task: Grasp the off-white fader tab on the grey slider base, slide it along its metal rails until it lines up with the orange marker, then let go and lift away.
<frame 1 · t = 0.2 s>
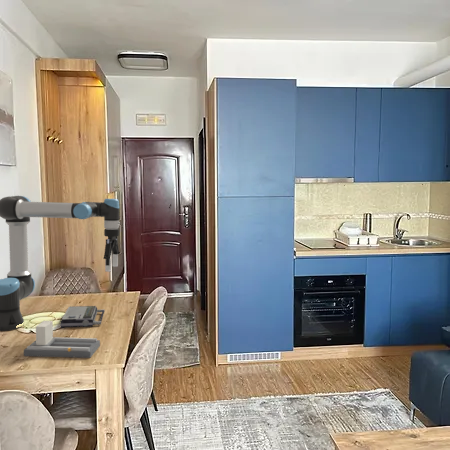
hand: (111, 269, 237), 28 cm above the table, fingers open, 13 cm apart
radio: (83, 321, 240), on the table
fader tab: (44, 333, 196), point 7 cm above the table, slide at -8.0 cm
grey slider base: (63, 350, 197), on the table
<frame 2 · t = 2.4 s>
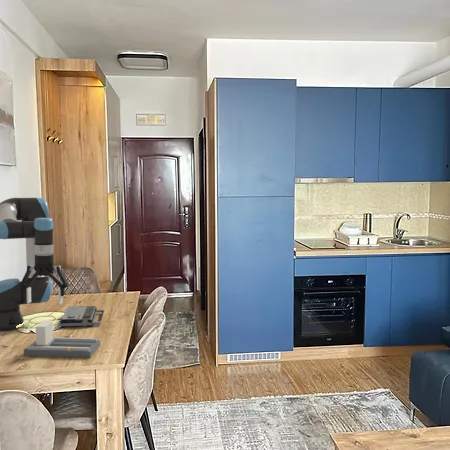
hand: (44, 303, 195), 21 cm above the table, fingers open, 13 cm apart
nothing on the table moved.
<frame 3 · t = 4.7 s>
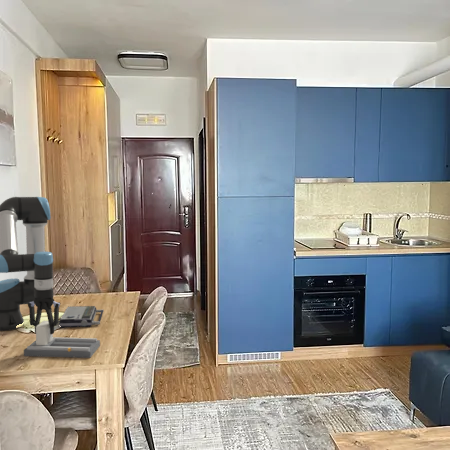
hand: (44, 340, 196), 4 cm above the table, fingers closed on fader tab, 4 cm apart
fader tab: (44, 333, 196), point 7 cm above the table, slide at -8.0 cm, touching gripper
everything else where it was.
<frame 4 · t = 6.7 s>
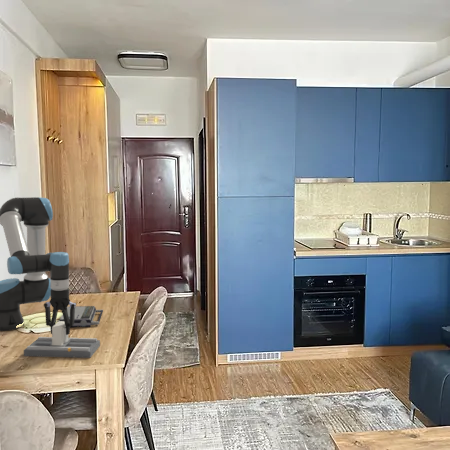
hand: (60, 341, 196), 4 cm above the table, fingers closed on fader tab, 4 cm apart
fader tab: (60, 334, 196), point 7 cm above the table, slide at -1.1 cm, touching gripper
everything else where it was.
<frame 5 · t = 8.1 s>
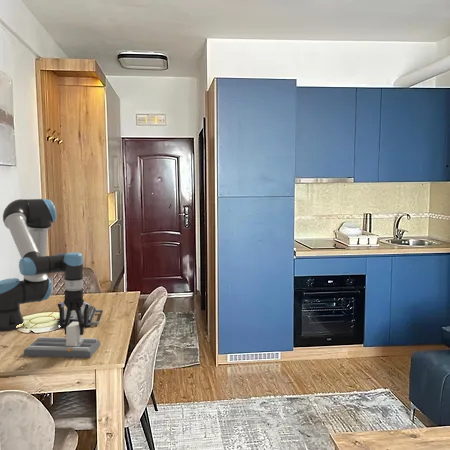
hand: (74, 341, 196), 4 cm above the table, fingers closed on fader tab, 4 cm apart
fader tab: (74, 334, 196), point 7 cm above the table, slide at 4.9 cm, touching gripper
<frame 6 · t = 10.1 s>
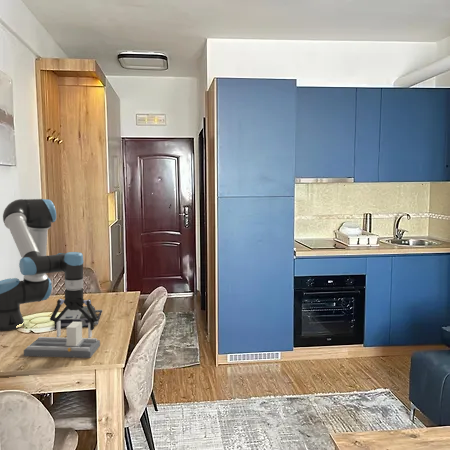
hand: (74, 336, 196), 6 cm above the table, fingers open, 13 cm apart
fader tab: (74, 334, 196), point 7 cm above the table, slide at 5.0 cm
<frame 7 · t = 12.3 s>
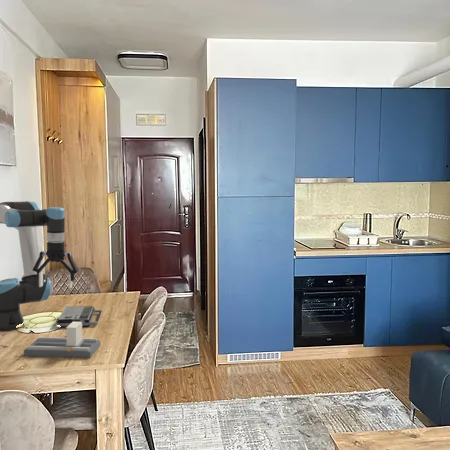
hand: (55, 287, 209), 25 cm above the table, fingers open, 13 cm apart
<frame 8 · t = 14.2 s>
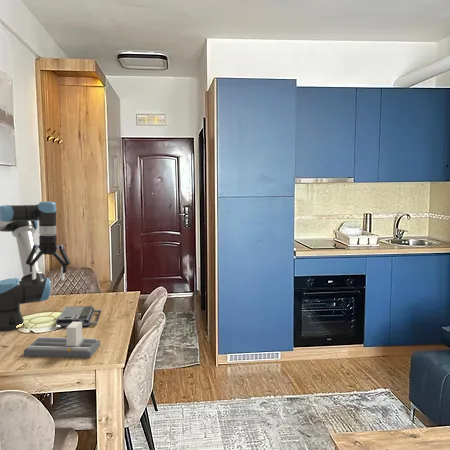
hand: (48, 279, 214), 27 cm above the table, fingers open, 13 cm apart
at the end: fader tab slide at 5.0 cm; the gripper is holding nothing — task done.
